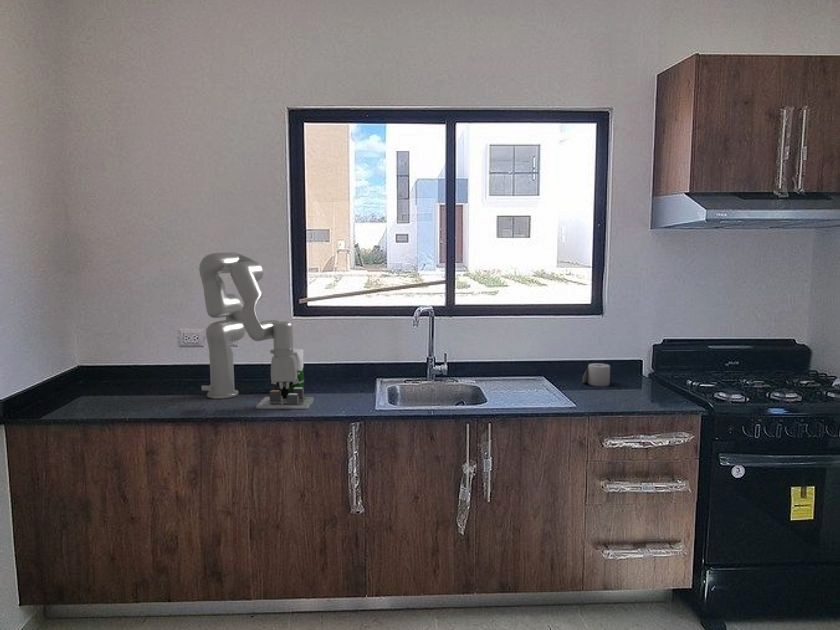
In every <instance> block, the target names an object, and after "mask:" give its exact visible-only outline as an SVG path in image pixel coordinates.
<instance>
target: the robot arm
mask: <svg viewBox="0 0 840 630" xmlns="http://www.w3.org/2000/svg"><path fill="white" fill-rule="evenodd" d="M199 263H200V264H199V268H198V272H199V277H200V279H201V283H202V288H203V294H204V295H203V297H204V304H205V309H206V310H205V311H206V313H207V315H208V316H209V317H210V318H213V319H220V318H221V319H222V318H225V320H224V319H223V320H217V321H214V322H211V323H210V324H209V325H208V326H207V327H206V330H205V337H206V342H207V345H208V353H209V355H208V356H209V357H208V358H209V372H210V373H209V374H210V375H209V376H210V384H209V385H201V389H200V390H201V391H203V392H207V394H206V396H207V398H209V399H213V400H215V399H216V400H219V399H229V398H234V397H237V396H238V395H239V390H237V389H235V372H234V371H235V370H234V369H235V368H234V366H235V365H234V352H233V349H232V347H231V345H230V343H231V342H232V343H233V342H238V341H240V340H242V339H243V338H244V337H245V334H246V333H247V335H248V336H249V338H250V339H251V340H252V341H255V342H262V341H267V340H270V339H271V340H273V349H270V352H269V353H270V354H273V356H271V362H270V380H271V382H270V383H271V384H272V385H277V387H278V388H279V389H280V391H281V397H283V399H287V395H288V394H289V393H290V391H289V388H290V386H291V385H293V384H297V383H298V382H299V381H298V369H297V362H296V357H295V355H293V349H294V336H293V335H294V334H293V333H294V332H293V324H292V322H290V321H279V320H275V319H269V320H262V321H259V320H260V319H258V317H257V313H256V305H257V304H258V302H259V301H260V300H261V299H262V298H263V297H264V293H263V291H262V289H261V287H260V285H259V281H260V280H262V279H263V277H264V268H263V266H262V265H261V264H260V263H259V262H258V261H256V260H254V259H252V258H250V257H247V256H245V255H243V254H240V253H239V252H213V253H209V254H207V255H205V256H204V257H203V258H202V259H201V261H200V262H199ZM220 274H230V277H231V279H232V281H233V284H234V285H235V287H236V291H238V294H239V296H240V298H239V296H237V295H236V294H233V293H227V291H226V285H225V283H224V280H223V279H222V277H221V276H220ZM284 382H286V387H285V386H284Z"/></svg>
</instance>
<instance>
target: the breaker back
mask: <svg viewBox="0 0 840 630" xmlns="http://www.w3.org/2000/svg"><path fill="white" fill-rule="evenodd" d="M304 388H305V387H304ZM304 388H303V387H295V388H293V393H297V394H298V396H299V398H303V397H305V390H304Z"/></svg>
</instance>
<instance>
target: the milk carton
mask: <svg viewBox="0 0 840 630" xmlns="http://www.w3.org/2000/svg"><path fill="white" fill-rule="evenodd" d="M293 355H295V357H296V362H297V369H298V381H299V382H298V383H297V384H293V385H291V386H290V388H289V391H290V393H293V388H295V387H303V388H305V385H304V384H305V376H304V375H305V374H304V373H305V372H304V349H302V348H293ZM284 386H285V387H286V382H284Z"/></svg>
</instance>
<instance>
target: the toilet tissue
mask: <svg viewBox="0 0 840 630" xmlns="http://www.w3.org/2000/svg"><path fill="white" fill-rule="evenodd" d="M610 380H611V365H610V364H607V363H600V362H599V363H597V362H595V363H589V364H588V366H587V368H586V370H585V372H584V374H583V375H582V380H581V384H586V383H587V384H589V386H593V385H594V387H608V386H609V385H610V383H611V381H610Z"/></svg>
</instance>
